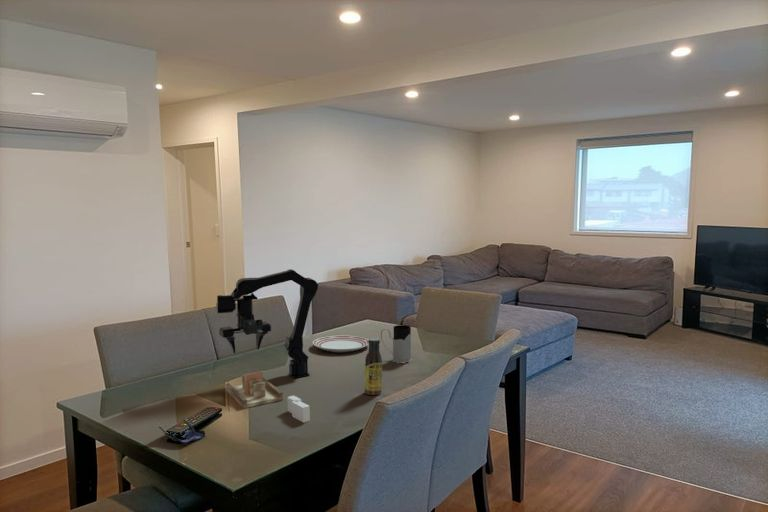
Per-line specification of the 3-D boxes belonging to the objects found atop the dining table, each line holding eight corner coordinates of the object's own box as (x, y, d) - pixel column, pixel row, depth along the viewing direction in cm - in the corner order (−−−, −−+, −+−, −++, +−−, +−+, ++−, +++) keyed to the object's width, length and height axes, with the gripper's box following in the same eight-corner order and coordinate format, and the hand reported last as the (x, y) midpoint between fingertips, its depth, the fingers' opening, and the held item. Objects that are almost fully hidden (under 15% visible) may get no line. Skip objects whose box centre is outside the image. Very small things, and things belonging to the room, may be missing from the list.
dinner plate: (338, 337, 272) (338, 331, 272) (381, 345, 256) (381, 339, 256) (300, 349, 250) (300, 343, 250) (344, 359, 234) (344, 352, 234)
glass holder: (409, 364, 226) (409, 330, 224) (377, 361, 230) (377, 327, 229) (414, 358, 234) (414, 325, 232) (384, 355, 238) (384, 323, 237)
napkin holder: (315, 425, 165) (314, 407, 164) (278, 426, 164) (277, 408, 164) (318, 407, 180) (318, 391, 179) (285, 408, 179) (284, 391, 178)
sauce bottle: (369, 397, 187) (368, 342, 185) (361, 391, 193) (361, 338, 191) (385, 394, 190) (385, 340, 188) (377, 388, 196) (377, 336, 194)
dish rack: (262, 383, 202) (262, 368, 201) (282, 399, 185) (282, 382, 185) (226, 391, 194) (225, 374, 194) (243, 408, 178) (243, 390, 177)
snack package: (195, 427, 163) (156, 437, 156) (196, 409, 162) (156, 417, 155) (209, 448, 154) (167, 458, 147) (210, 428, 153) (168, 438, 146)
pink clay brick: (260, 389, 192) (260, 371, 191) (262, 391, 190) (262, 372, 190) (244, 393, 189) (244, 373, 188) (246, 394, 187) (246, 375, 186)
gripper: (226, 318, 190) (228, 360, 192) (276, 312, 200) (277, 352, 202) (218, 313, 200) (219, 353, 201) (265, 307, 210) (266, 346, 211)
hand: (246, 351), depth 204 cm, fingers open, 9 cm apart
